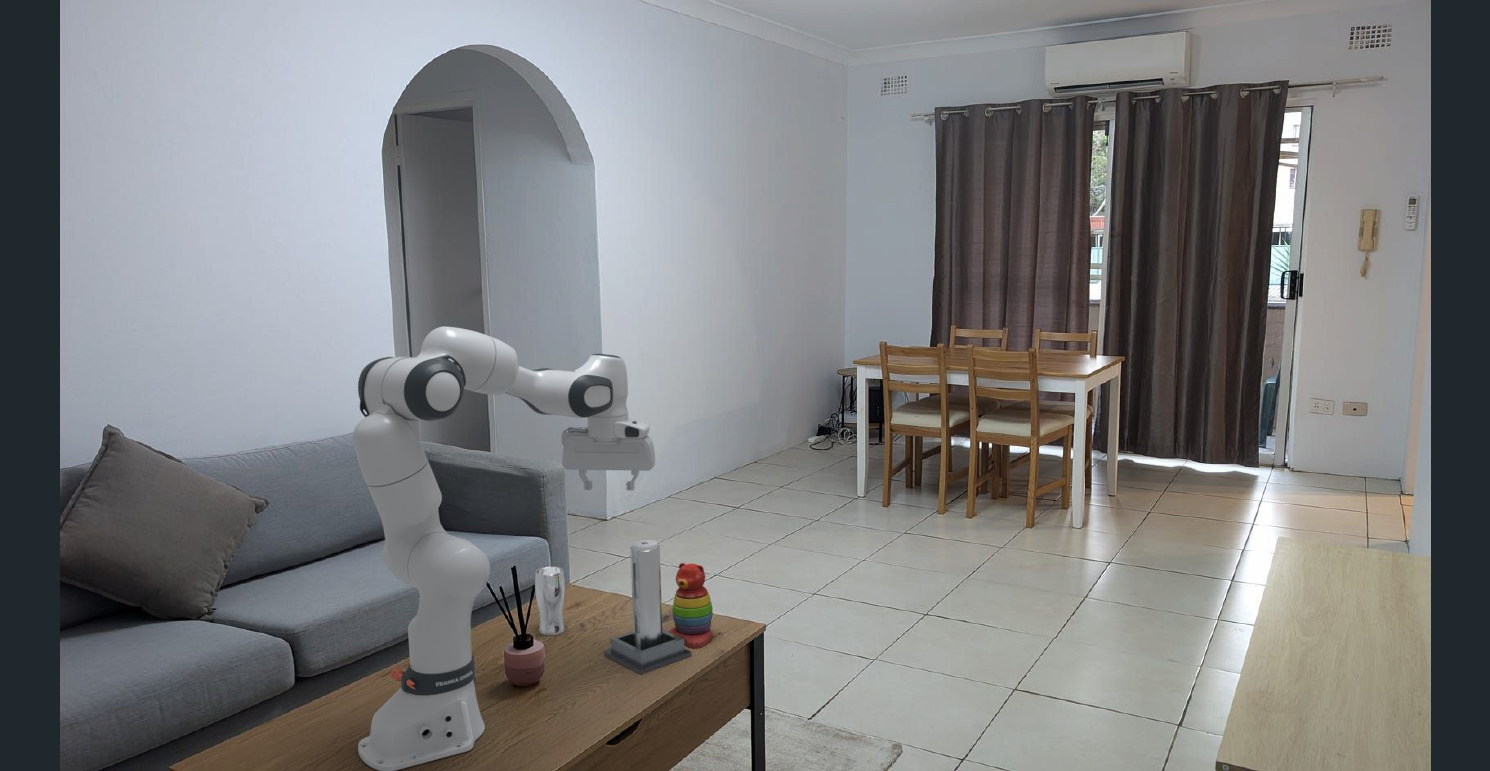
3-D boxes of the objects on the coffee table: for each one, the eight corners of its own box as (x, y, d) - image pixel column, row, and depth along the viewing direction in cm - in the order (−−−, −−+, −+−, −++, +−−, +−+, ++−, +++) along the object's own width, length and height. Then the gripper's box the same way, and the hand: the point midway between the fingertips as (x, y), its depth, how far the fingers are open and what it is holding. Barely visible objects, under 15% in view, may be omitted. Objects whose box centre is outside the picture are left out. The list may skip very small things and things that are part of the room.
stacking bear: (660, 640, 227) (658, 566, 224) (687, 626, 235) (685, 555, 232) (697, 650, 220) (695, 574, 218) (723, 635, 229) (721, 562, 226)
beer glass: (535, 627, 236) (533, 568, 234) (564, 624, 238) (562, 564, 236) (538, 638, 229) (535, 576, 227) (568, 634, 231) (565, 573, 229)
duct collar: (640, 674, 208) (639, 656, 207) (603, 655, 218) (603, 638, 218) (691, 656, 217) (690, 639, 217) (654, 638, 227) (653, 622, 227)
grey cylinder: (666, 653, 216) (662, 544, 213) (637, 657, 214) (633, 548, 211) (659, 642, 222) (655, 536, 219) (631, 646, 220) (627, 540, 217)
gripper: (557, 429, 209) (559, 492, 211) (651, 430, 208) (652, 493, 209) (565, 424, 216) (566, 485, 217) (656, 425, 214) (657, 487, 216)
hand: (609, 489), depth 213 cm, fingers open, 8 cm apart
